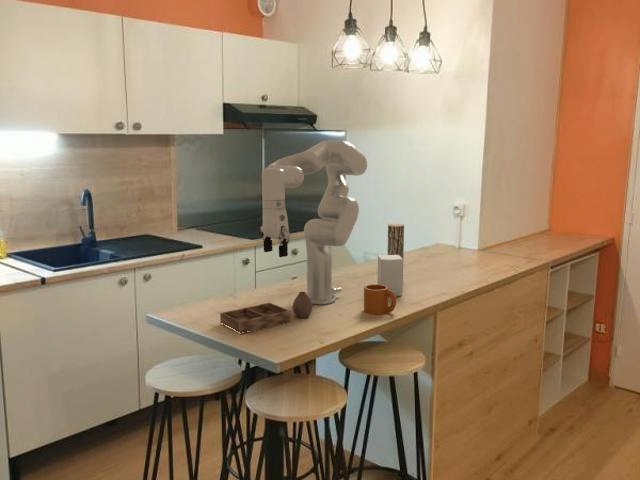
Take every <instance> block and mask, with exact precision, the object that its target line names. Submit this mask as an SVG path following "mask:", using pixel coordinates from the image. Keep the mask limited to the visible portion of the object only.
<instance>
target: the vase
mask: <svg viewBox="0 0 640 480" xmlns="http://www.w3.org/2000/svg"><path fill="white" fill-rule="evenodd" d="M292 303H293V304H292V312H293V313H294V315H295V317H297V318H298V317H299V318H298V319H306V317H307V318H308V317H310V315H312V311H313V304H312V302H311V300H310V298H309V297H308V296H307V291H299V292H298V295H297V296H296V297H295V298H294V300H293V302H292Z"/></svg>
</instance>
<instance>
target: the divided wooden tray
mask: <svg viewBox="0 0 640 480" xmlns="http://www.w3.org/2000/svg"><path fill="white" fill-rule="evenodd" d="M291 315H292V313H291V310H289V309H287V308H284V307H281V306H279V305H277V304H275V303H272V302H265V303H260V304H257V305H252V306H247V307H243V308H238V309H233V310H229V311H223V312H220V314H219V316H220V318H219V319H220V322H219V323H220V324H221V323H223V324H225V325H227V326H229V327H231V328H233V329H235V330H236V331H238V332H240V333H242V332H247V331H253V330H257V331H259V330H258V329H261V330H263V329H262V328H265V329H268V328H267V327H269V328H272V327H271V326H273V327H276V326H275V325H277V326H279V324H281V325H284V324H283V323H285V324H288V323H287V322H289V323H291V322H292V320H291ZM253 332H254V331H253Z"/></svg>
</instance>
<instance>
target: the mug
mask: <svg viewBox="0 0 640 480" xmlns="http://www.w3.org/2000/svg"><path fill="white" fill-rule="evenodd" d="M396 297H397V296H395V295H394V293H393V292H392V291H391V290H388V286H386V285H381V284H378V283H375V284H373V283H372V284H368V285H367V284H366V285H364V287H363V311H364V313H366V314H369V315H383V314H387V313H388V314H389V313H392V312H393V311H394V309H396V306H397V298H396ZM389 298H390V301H391V303H390V305H389Z"/></svg>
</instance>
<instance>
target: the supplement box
mask: <svg viewBox="0 0 640 480" xmlns="http://www.w3.org/2000/svg"><path fill="white" fill-rule="evenodd" d="M403 281H404V258H403V259H402V258H401V257H400V256H399V255H388V254H378V255H377V284H381V285H386V286H388V290H391V291H392V292H393V293H394V295H395V297H403V285H404V284H403V283H404V282H403Z"/></svg>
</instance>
